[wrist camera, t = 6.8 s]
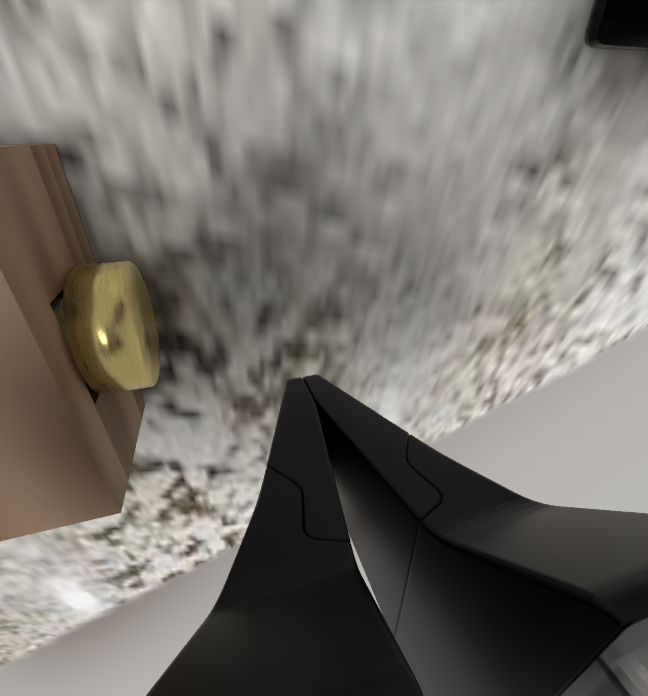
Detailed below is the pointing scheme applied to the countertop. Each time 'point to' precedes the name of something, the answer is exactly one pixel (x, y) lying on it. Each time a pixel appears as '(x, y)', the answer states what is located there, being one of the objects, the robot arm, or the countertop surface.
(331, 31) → the countertop surface
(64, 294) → the pin
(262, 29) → the countertop surface
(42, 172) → the block
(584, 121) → the countertop surface
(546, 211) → the countertop surface
